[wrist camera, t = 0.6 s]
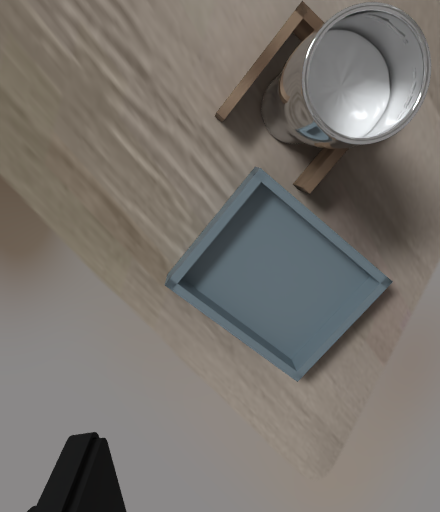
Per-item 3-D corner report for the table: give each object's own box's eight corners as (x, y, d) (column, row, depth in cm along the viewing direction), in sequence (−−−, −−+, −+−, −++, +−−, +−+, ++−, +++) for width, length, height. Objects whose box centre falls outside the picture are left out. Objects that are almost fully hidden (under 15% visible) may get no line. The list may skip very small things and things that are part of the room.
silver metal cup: (292, 166, 35) (357, 177, 21) (239, 107, 33) (268, 74, 19) (351, 108, 34) (462, 78, 19) (299, 45, 32) (379, -40, 18)
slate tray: (255, 166, 35) (260, 168, 32) (378, 271, 38) (392, 281, 35) (167, 274, 37) (164, 285, 34) (290, 365, 40) (297, 381, 37)
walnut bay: (291, 16, 32) (302, 0, 28) (375, 99, 34) (395, 94, 30) (214, 116, 34) (216, 112, 30) (299, 189, 36) (309, 193, 32)
